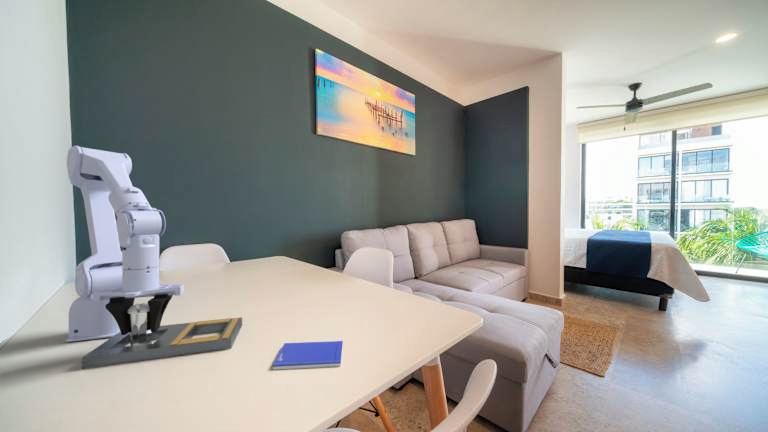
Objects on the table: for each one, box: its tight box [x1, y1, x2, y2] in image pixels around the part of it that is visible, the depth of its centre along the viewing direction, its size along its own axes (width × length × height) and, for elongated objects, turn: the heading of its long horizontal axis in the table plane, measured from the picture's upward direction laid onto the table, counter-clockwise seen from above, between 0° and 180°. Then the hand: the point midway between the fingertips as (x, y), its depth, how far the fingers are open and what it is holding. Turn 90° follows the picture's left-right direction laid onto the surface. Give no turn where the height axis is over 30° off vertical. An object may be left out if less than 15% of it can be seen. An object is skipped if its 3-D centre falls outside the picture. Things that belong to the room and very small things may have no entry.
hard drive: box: [272, 340, 344, 371], centre depth 53 cm, size 2×8×12 cm
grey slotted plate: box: [81, 317, 243, 370], centre depth 57 cm, size 24×12×2 cm, turn 109°
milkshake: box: [127, 301, 154, 346], centre depth 55 cm, size 4×5×10 cm
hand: (141, 331), depth 55 cm, fingers closed on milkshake, 4 cm apart
